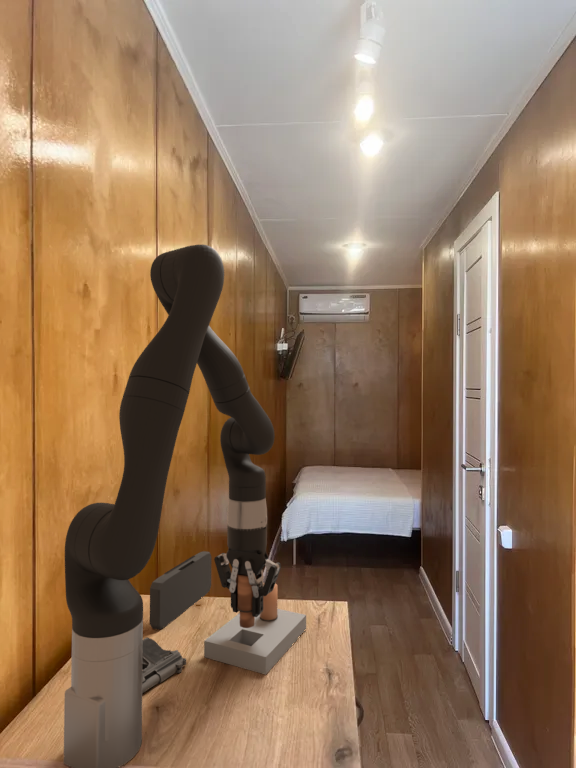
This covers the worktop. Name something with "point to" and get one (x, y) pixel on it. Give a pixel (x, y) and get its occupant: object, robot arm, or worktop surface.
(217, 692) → the worktop surface
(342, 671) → the worktop surface
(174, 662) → the handgun
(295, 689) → the worktop surface
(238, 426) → the robot arm
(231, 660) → the jig board
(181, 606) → the handheld gaming console
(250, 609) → the cherry peg
